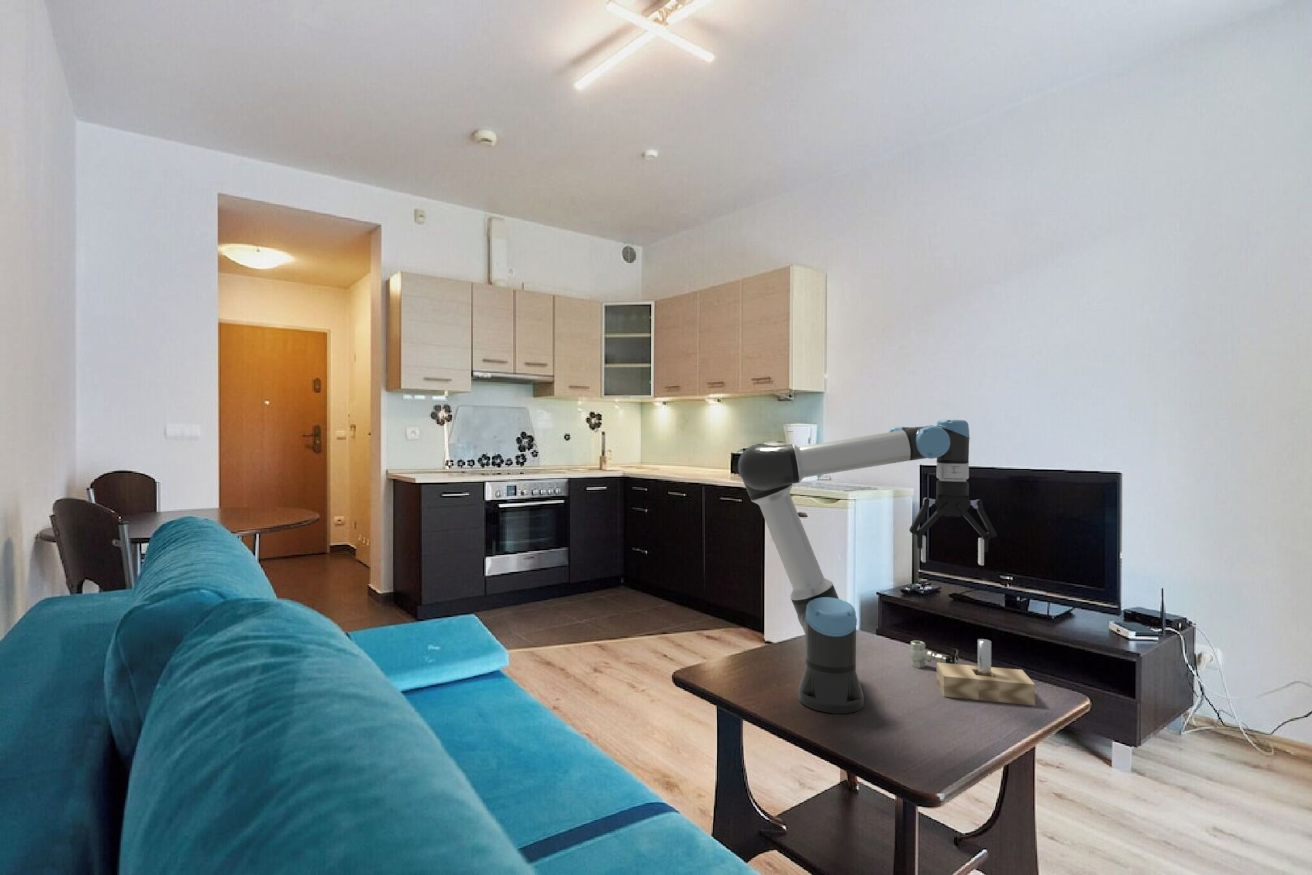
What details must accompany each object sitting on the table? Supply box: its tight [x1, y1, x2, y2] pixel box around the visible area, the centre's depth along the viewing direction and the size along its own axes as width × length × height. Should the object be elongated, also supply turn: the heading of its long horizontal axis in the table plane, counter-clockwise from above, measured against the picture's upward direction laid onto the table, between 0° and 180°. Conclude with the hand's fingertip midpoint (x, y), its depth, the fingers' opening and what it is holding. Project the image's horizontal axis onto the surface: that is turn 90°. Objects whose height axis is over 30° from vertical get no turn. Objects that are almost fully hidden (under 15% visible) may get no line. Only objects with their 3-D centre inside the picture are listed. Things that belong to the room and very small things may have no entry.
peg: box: [977, 638, 992, 677], centre depth 158 cm, size 3×3×13 cm
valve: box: [909, 640, 960, 669], centre depth 175 cm, size 7×7×12 cm
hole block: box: [936, 662, 1036, 706], centre depth 158 cm, size 20×10×5 cm, turn 75°
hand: (951, 563), depth 162 cm, fingers open, 13 cm apart
